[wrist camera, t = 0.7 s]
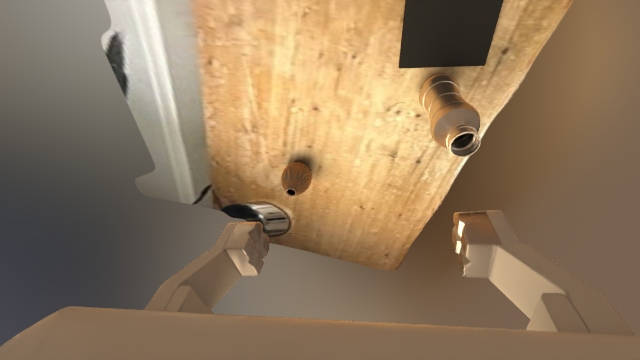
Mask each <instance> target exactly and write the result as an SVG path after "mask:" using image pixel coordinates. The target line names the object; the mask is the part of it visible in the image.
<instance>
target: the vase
mask: <svg viewBox="0 0 640 360" xmlns="http://www.w3.org/2000/svg"><path fill="white" fill-rule="evenodd" d="M311 178H312V176H311V171H310V169H309V168H308V166H306V165H305V164H303V163H301V162H294V163H291V164H289V165H288V166H287V167H286V168H285V169H284V171H283V173H282V177H281V182H282V186H283V188H284V189H285V191H286V193H287V195H289V196H291V197H293V196H296V195H298V194H301V193H303V192H305V191H306V190H307V189H308V187H309V186H310V183H311Z"/></svg>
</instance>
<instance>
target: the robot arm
mask: <svg viewBox="0 0 640 360" xmlns="http://www.w3.org/2000/svg"><path fill="white" fill-rule="evenodd" d="M453 220H454V224H455V227H454V228H453V231H452V237H453V245H454V248H455V252H456V253H457V254H458V255H459V265H460V268H461V272H462V275H463V277H467V278H468V277H469V278H489V280H490V281H491V282H493V284H495V285H496V286H497V287H498V288H499V289H500V290H501V291H502V292H503V293H504V294H505V295H506V296H507V297H508V298H509V299H510V300H511V301H512V302H513V303H514V304H515V305H516V306H517V307H518V308H519V309H520V310H522V311H523V312H524V313H525V314H526V315H527V316H528V317H529V318H530V319H531V320H530V322H529V325H528V327H527V329H526V330H516V329H497V328H477V327H458V326H439V325H418V324H399V323H379V322H360V321H340V320H321V319H302V318H282V317H263V316H244V315H224V314H214V313H213V312H212V311H211V308H212V307H214V305H215V304H216V303H217V302H218V301H219V300H220V299H221V298H222V297H223V296H224V295H225V294H226V293H227V292H228V291H229V290H230V289H231V287H233V286H234V285H235V283H236V282H237V281H238V280H239V279H240V278H241V277H242V276H258V275H259V273H260V271H261V268H262V266H263V260H262V259H263V258H264V257H265V256H266V255H267V253H268V250H269V239H268V236H267V234H265V233H264V232H262V230H263V226H262V224H261V223H260V222H239V223H229V224H227V225H226V227H225V229H224V230H223V232H222V234H221V235H220V237H219V239H218V240H217V242H216V243H215V245H214V247H213V249H212V250H208V251H207V252H205V253H204V254H202V255H201V256H200V257H198V258H197V259H195V260H194V261H193V262H191V263H190V264H189V265H187V266H186V267H185V268H183V269H182V270H180V271H179V272H178V273H177V274H175V275H174V276H172V277H171V278H170V279H168V280H167V281H165V282H164V283H163V284H162V285H161V286H160V287H159V289H158V290H157V292H156V293H155V295H154V296H153V297H152V299H151V300H150V302H149V303H148V305H147V306H146V307H145V309H144V310H128V309H109V308H90V307H66V308H63V309H61V310H59V311H57V312H55V313H53V314H52V315H50V316H48V317H46V318H44V319H43V320H41V321H39V322H38V323H36V324H34V325H33V326H31V327H29V328H28V329H26V330H24V331H23V332H21V333H20V334H18V335H16V336H15V337H13V338H12V339H10V340H9V341H8V342H6V343H5V344H4V345H2V346H1V347H0V360H640V336H636V335H635V334H634V332H633V331H632V330H631V328H630V327H629V325H628V324H627V323H626V321H625V320H624V319H623V318H622V316H621V315H620V313H619V312H618V311H617V309H616V308H615V307H614V305H613V304H612V303H611V301H610V300H609V298H608V297H607V296H606V294H605V293H603V292H602V291H600V290H599V289H597V288H595V287H594V286H592V285H590V284H589V283H587V282H586V281H584V280H582V279H581V278H579V277H578V276H576V275H574V274H573V273H571V272H570V271H568V270H566V269H565V268H563V267H562V266H560V265H558V264H557V263H555V262H554V261H552V260H550V259H549V258H547V257H545V256H544V255H542V254H541V253H539V252H538V251H536V250H534V249H533V248H531V247H529V246H528V245H526V244H520V242H519V241H518V239H517V237H516V235H515V234H514V232H513V230H512V228H511V227H510V225H509V223H508V221H507V220H506V218H505V216H504V214H503V213H502V211H500V210H490V211H474V212H456V213H454V219H453Z"/></svg>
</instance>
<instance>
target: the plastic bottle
mask: <svg viewBox="0 0 640 360" xmlns="http://www.w3.org/2000/svg"><path fill="white" fill-rule="evenodd" d="M419 101H420V104H421V106H422V107H423V109H424V110H425V111H426V112H427V113H428V115H429V119H430V131H431V135H432V138H433V139H434V141H435V142H436V143H438V144H439V145H441V146H443V147H445V148H448V149H449V150H450V152H451V153H452V154H453V155H454V156H457V157H467V156H470V155H472V154H473V153H475V152H476V151H477V150H478V148H479V146H480V143H481V140H480V137H479V135H478V131H479V128H480V116H479V114H478V112H477V110H476V109H475V108H474V107H473V106H471V105H470V104H469V103H467V102H466V101H465V100H464V99H463V98H462V97H461V94H460V89H459V85H458V83H457V81H456V80H455V79H454V78H453V77H451V76H449V75H446V74H437V75H434V76H432V77H430V78H429V79H427V80H426V81H425V82H424V84H423V85H422V87H421V90H420V95H419Z"/></svg>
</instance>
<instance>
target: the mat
mask: <svg viewBox="0 0 640 360" xmlns="http://www.w3.org/2000/svg"><path fill="white" fill-rule="evenodd" d="M502 3H503V0H406V2H405V12H404V22H403V32H402V42H401V52H400V62H399V68H423V67H455V66H485V63H486V59H487V56H488V52H489V49H490V45H491V42H492V38H493V35H494V31H495V28H496V24H497V21H498V17H499V14H500V10H501V7H502Z"/></svg>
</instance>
